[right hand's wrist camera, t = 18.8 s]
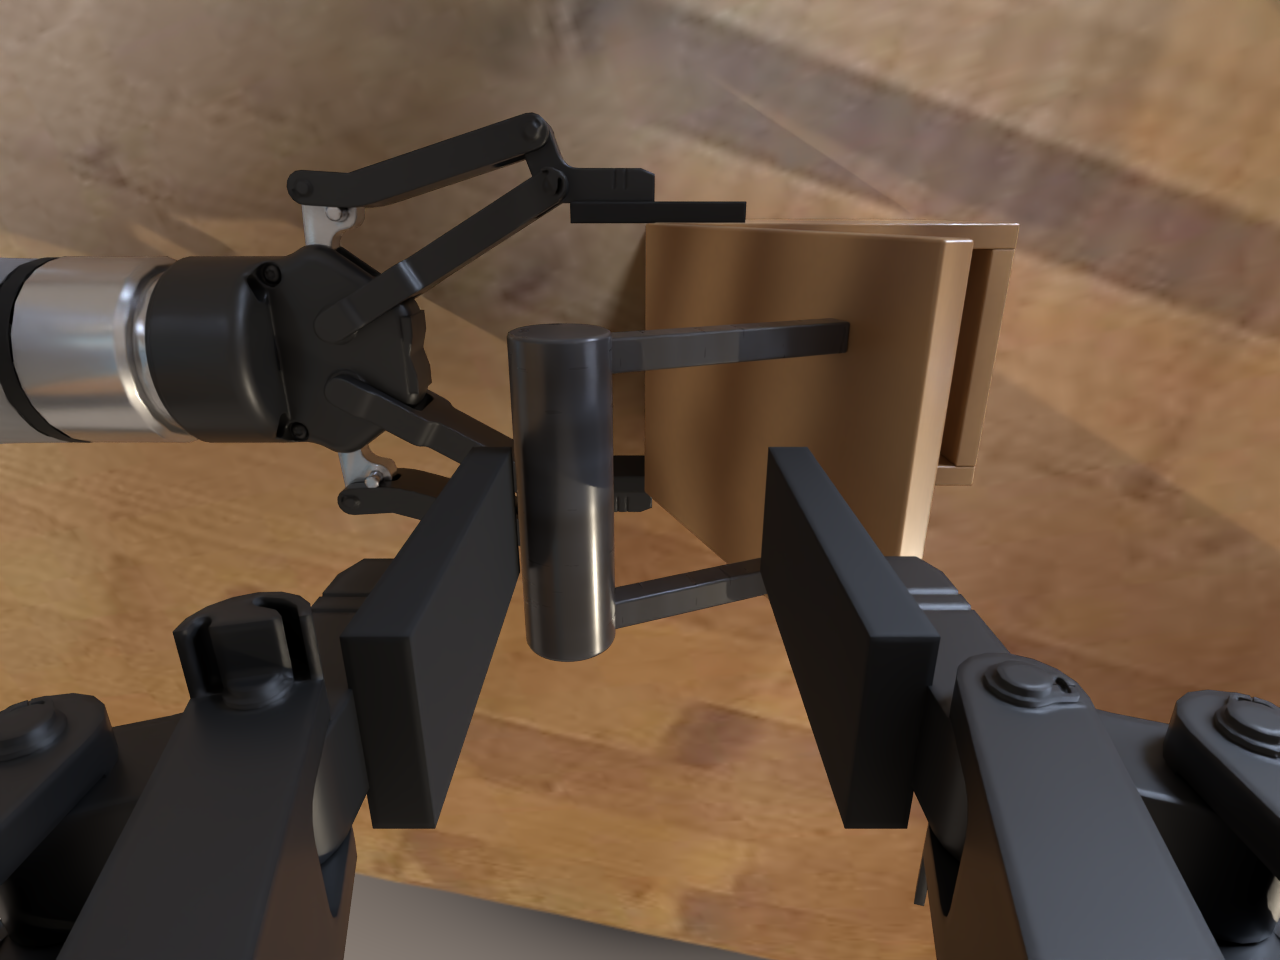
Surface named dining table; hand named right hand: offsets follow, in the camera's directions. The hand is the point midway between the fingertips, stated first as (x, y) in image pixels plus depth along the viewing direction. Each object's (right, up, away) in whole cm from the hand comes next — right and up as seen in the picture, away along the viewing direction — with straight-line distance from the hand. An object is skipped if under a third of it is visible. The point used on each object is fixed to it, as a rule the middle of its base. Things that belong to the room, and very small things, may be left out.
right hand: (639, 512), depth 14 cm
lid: (+4, +3, +7) cm, 8 cm away
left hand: (+4, +6, +15) cm, 17 cm away
